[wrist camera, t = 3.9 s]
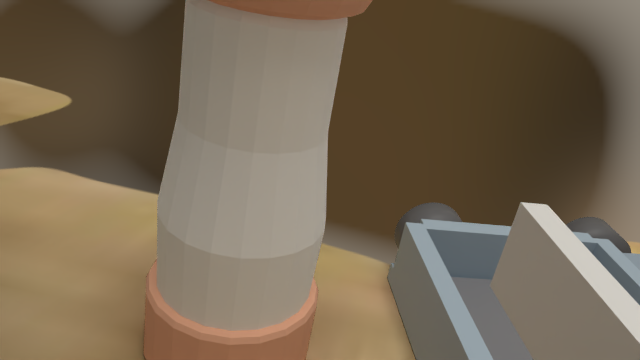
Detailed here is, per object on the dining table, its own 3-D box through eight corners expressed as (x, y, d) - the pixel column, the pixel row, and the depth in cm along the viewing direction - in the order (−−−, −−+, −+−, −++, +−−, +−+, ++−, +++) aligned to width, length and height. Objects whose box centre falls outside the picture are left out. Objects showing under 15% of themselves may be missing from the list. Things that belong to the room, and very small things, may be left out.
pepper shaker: (335, 336, 27) (440, -106, 18) (240, 440, 21) (330, -138, 13) (217, 271, 30) (261, -137, 21) (105, 347, 24) (104, -174, 16)
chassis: (473, 523, 20) (509, 446, 18) (379, 257, 34) (394, 199, 32) (828, 519, 22) (889, 451, 21) (604, 273, 36) (629, 220, 35)
